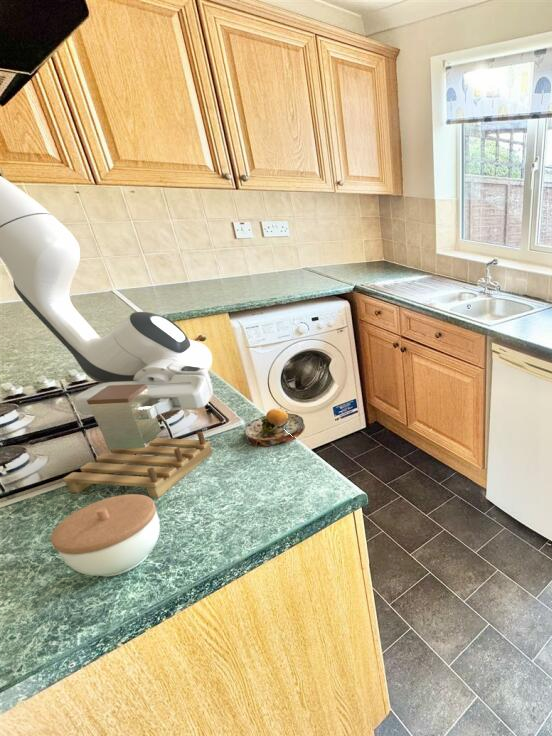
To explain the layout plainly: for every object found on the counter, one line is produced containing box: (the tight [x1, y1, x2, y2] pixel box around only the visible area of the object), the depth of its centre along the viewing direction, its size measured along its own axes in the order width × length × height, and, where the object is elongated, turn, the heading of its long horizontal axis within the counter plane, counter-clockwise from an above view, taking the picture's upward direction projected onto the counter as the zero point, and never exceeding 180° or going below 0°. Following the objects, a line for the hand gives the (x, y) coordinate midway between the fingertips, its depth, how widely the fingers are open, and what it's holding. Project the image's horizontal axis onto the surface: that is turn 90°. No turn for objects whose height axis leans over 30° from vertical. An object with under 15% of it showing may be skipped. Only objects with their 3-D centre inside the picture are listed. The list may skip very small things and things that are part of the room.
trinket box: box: [50, 493, 161, 578], centre depth 59 cm, size 11×11×9 cm
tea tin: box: [87, 384, 162, 451], centre depth 75 cm, size 6×6×10 cm
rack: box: [63, 431, 213, 499], centre depth 78 cm, size 16×14×6 cm
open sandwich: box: [243, 406, 306, 447], centre depth 92 cm, size 12×12×8 cm
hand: (123, 416), depth 74 cm, fingers closed on tea tin, 5 cm apart
